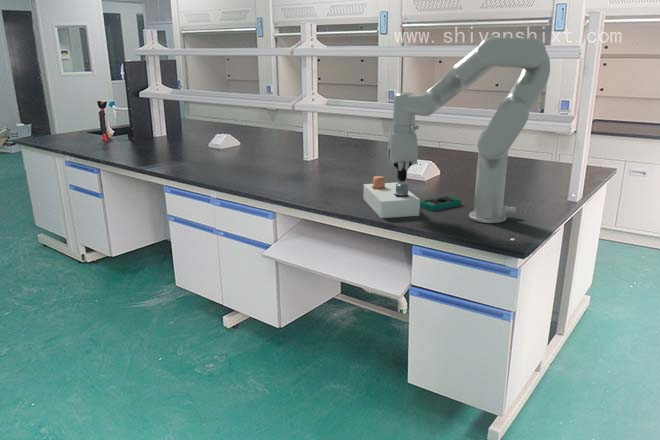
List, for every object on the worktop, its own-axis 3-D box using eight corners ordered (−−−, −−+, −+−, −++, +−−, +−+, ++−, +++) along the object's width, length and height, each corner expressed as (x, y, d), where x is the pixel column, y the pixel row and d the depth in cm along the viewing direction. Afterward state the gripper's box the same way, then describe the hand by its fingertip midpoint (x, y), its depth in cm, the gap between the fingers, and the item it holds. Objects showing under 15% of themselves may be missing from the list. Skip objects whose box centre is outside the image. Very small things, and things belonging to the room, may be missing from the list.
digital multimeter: (462, 206, 199) (462, 198, 198) (432, 212, 192) (432, 204, 191) (448, 202, 205) (449, 194, 204) (419, 208, 198) (419, 200, 197)
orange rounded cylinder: (382, 189, 205) (383, 175, 203) (386, 192, 201) (386, 178, 199) (371, 190, 204) (372, 176, 202) (374, 193, 200) (375, 178, 198)
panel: (397, 196, 211) (397, 182, 210) (419, 215, 187) (419, 199, 185) (363, 199, 209) (363, 184, 207) (380, 218, 185) (381, 201, 183)
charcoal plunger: (405, 197, 194) (406, 182, 192) (409, 200, 189) (410, 185, 188) (394, 198, 193) (394, 183, 191) (397, 201, 189) (398, 186, 187)
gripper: (420, 127, 188) (418, 177, 194) (380, 128, 186) (378, 179, 191) (428, 130, 181) (425, 182, 187) (386, 131, 179) (384, 184, 184)
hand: (401, 180), depth 189 cm, fingers closed
